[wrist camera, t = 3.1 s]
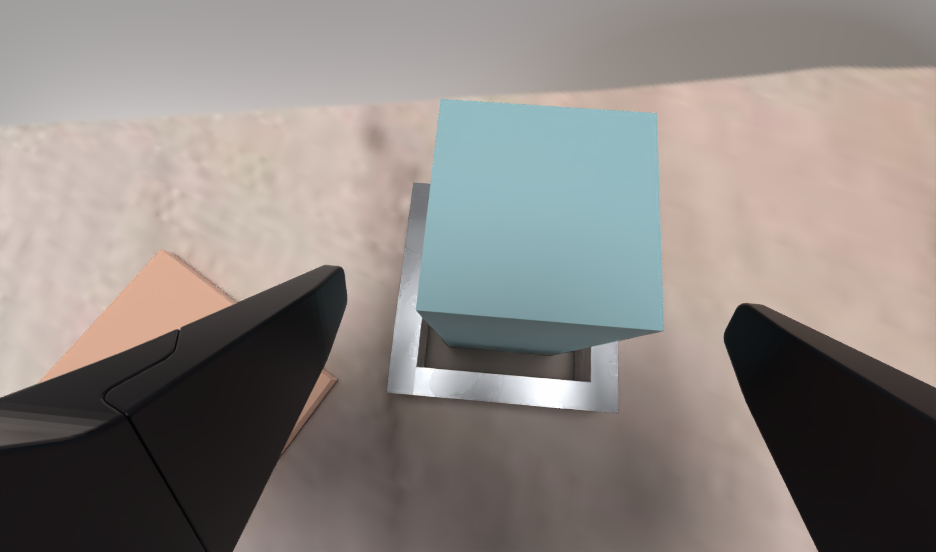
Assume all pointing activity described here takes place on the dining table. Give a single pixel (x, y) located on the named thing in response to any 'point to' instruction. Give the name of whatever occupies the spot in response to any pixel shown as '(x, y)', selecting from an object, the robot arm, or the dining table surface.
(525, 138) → the teal peg
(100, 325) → the terracotta tile
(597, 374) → the square socket
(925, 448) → the robot arm
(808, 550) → the dining table surface
